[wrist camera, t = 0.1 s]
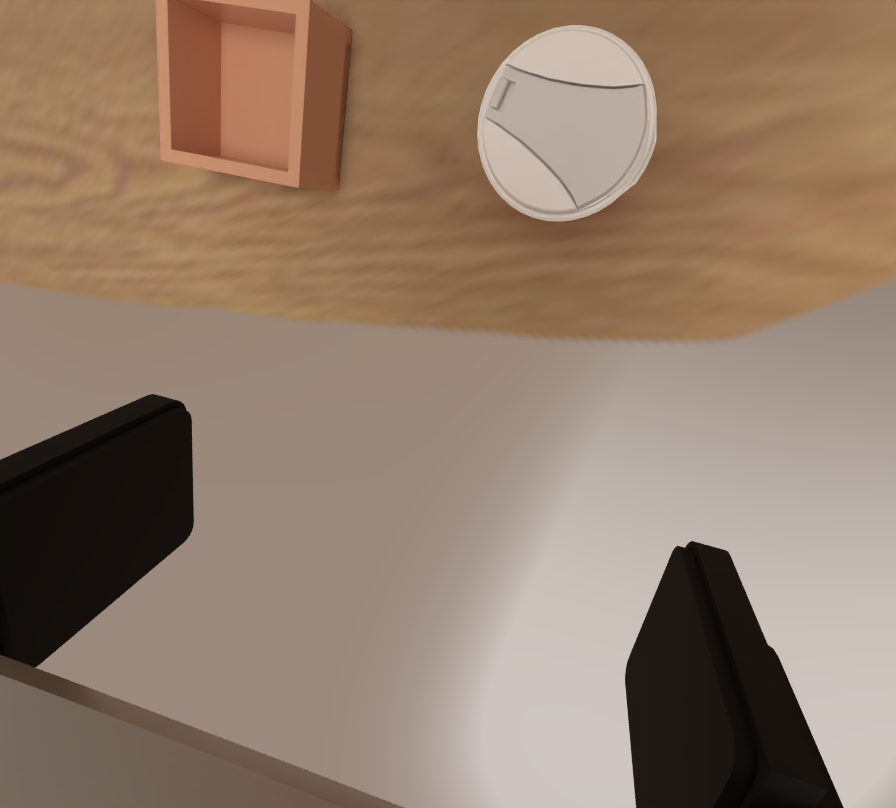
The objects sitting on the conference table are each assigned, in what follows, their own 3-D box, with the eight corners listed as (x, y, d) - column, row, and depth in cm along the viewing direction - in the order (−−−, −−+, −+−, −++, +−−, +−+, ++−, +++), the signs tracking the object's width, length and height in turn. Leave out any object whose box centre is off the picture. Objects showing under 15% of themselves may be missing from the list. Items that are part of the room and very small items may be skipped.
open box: (218, 10, 37) (154, -23, 31) (352, 30, 35) (309, -1, 30) (217, 166, 41) (160, 160, 35) (338, 190, 39) (298, 188, 34)
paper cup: (492, 184, 37) (443, 174, 24) (546, 65, 33) (524, -21, 21) (593, 236, 36) (598, 254, 24) (658, 120, 33) (705, 68, 20)
